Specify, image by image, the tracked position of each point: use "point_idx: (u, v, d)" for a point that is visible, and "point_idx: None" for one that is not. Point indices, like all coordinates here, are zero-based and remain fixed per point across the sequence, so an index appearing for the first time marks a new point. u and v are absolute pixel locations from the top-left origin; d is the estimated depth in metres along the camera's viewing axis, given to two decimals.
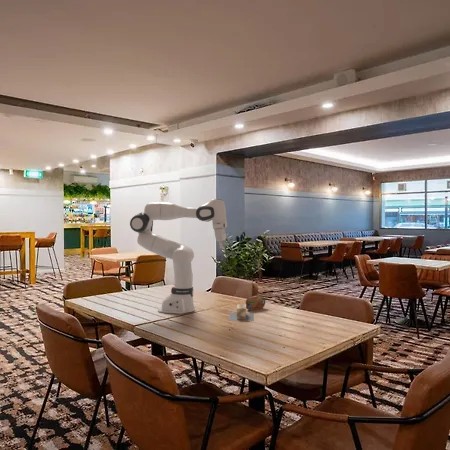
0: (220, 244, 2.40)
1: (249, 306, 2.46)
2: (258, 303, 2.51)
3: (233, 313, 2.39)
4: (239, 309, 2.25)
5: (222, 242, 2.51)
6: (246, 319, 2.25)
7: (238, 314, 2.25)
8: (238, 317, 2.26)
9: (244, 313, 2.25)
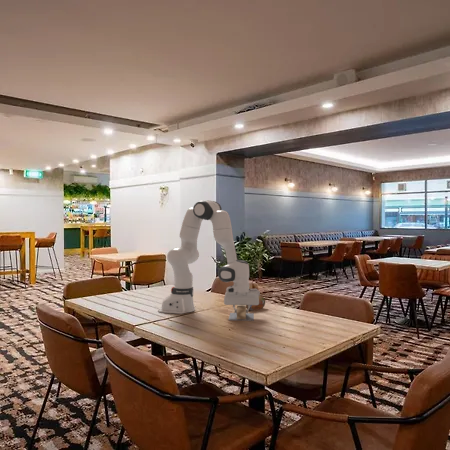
0: None
1: None
2: None
3: (233, 313, 2.39)
4: (239, 309, 2.25)
5: (248, 307, 2.31)
6: (246, 319, 2.25)
7: (238, 314, 2.25)
8: (238, 317, 2.26)
9: (244, 313, 2.25)
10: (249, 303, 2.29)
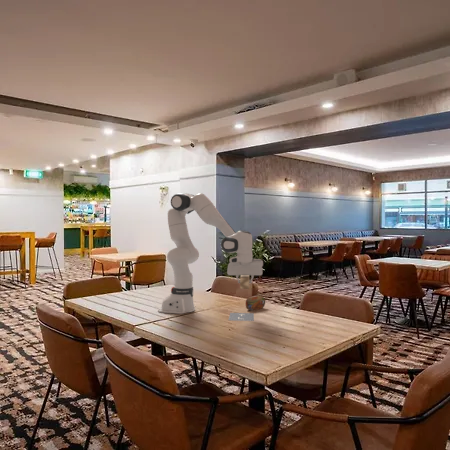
0: (237, 278, 2.31)
1: (249, 306, 2.46)
2: (258, 303, 2.51)
3: (233, 313, 2.39)
4: (242, 279, 2.25)
5: None
6: (246, 319, 2.25)
7: (242, 283, 2.25)
8: (241, 287, 2.25)
9: (247, 283, 2.25)
10: (252, 273, 2.29)
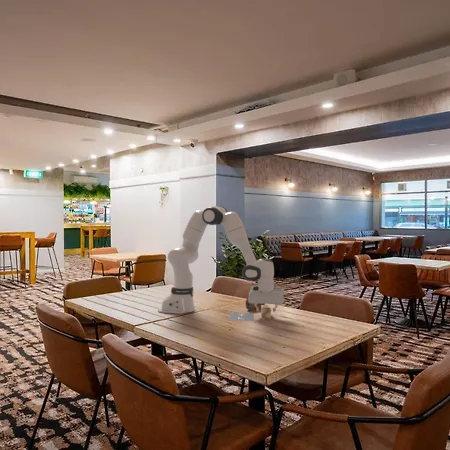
0: (255, 306, 2.31)
1: (249, 306, 2.46)
2: (258, 303, 2.51)
3: (233, 313, 2.39)
4: (264, 310, 2.25)
5: None
6: (246, 319, 2.25)
7: (263, 315, 2.25)
8: (263, 318, 2.25)
9: (269, 314, 2.24)
10: (274, 302, 2.28)
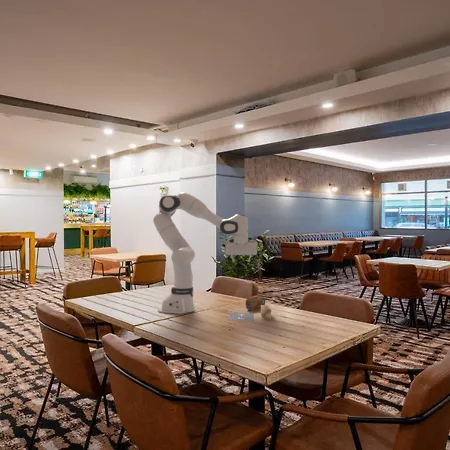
0: None
1: (249, 306, 2.46)
2: (258, 303, 2.51)
3: (233, 313, 2.39)
4: (264, 310, 2.24)
5: None
6: (246, 319, 2.25)
7: (264, 315, 2.25)
8: (263, 318, 2.25)
9: (269, 314, 2.24)
10: (248, 253, 2.53)
